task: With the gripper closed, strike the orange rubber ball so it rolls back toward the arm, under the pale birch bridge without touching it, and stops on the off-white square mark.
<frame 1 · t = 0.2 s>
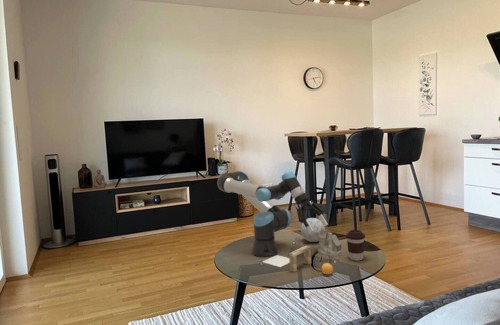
hand: (318, 228, 205), 16 cm above the table, tool tilted 35°, fingers open, 13 cm apart
ball: (327, 268, 181), on the table
coffee cup: (356, 258, 200), on the table
puzzle ball: (313, 241, 233), on the table
ceramic cottage: (332, 251, 214), on the table
bridge: (300, 267, 192), on the table
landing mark: (278, 261, 203), on the table
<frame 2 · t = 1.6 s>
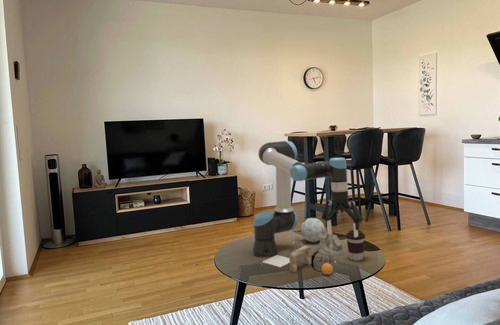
hand: (342, 235, 175), 21 cm above the table, tool pointing down, fingers open, 13 cm apart
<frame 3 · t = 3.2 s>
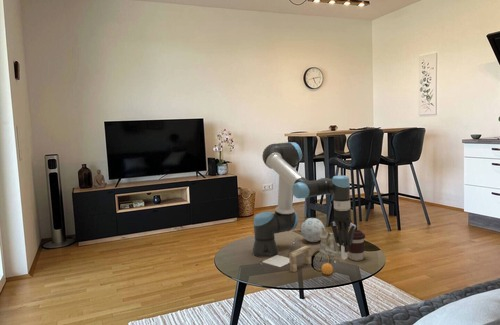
hand: (344, 258, 173), 10 cm above the table, tool pointing down, fingers closed
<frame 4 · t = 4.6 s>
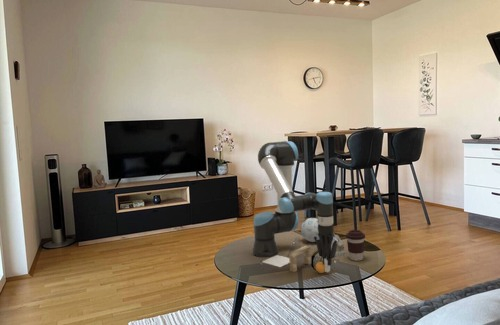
hand: (327, 271, 181), 2 cm above the table, tool pointing down, fingers closed
ball: (321, 267, 183), on the table
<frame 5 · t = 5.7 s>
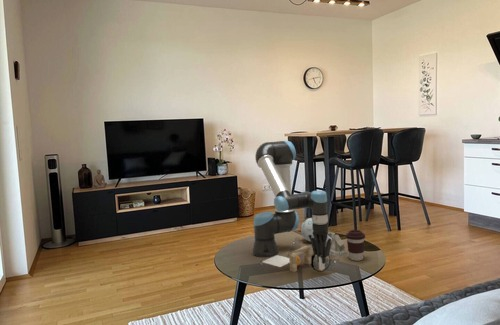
hand: (322, 269, 183), 2 cm above the table, tool pointing down, fingers closed
ball: (295, 260, 194), on the table
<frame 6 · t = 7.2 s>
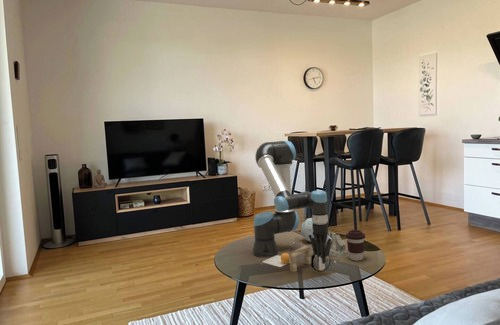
hand: (322, 269, 183), 2 cm above the table, tool pointing down, fingers closed
ball: (285, 258, 199), on the table
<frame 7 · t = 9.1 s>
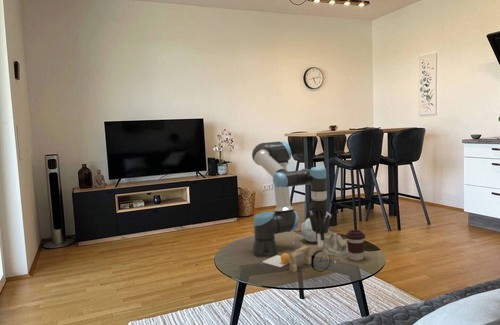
hand: (320, 245, 183), 14 cm above the table, tool pointing down, fingers closed
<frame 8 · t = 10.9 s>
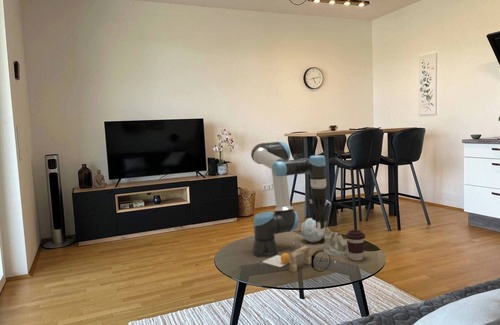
hand: (320, 234, 182), 19 cm above the table, tool pointing down, fingers closed
at the end: ball 5.2 cm from the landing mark (horizontally); ball never touched bridge; ball at rest at the end (0.0 cm/s) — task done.
